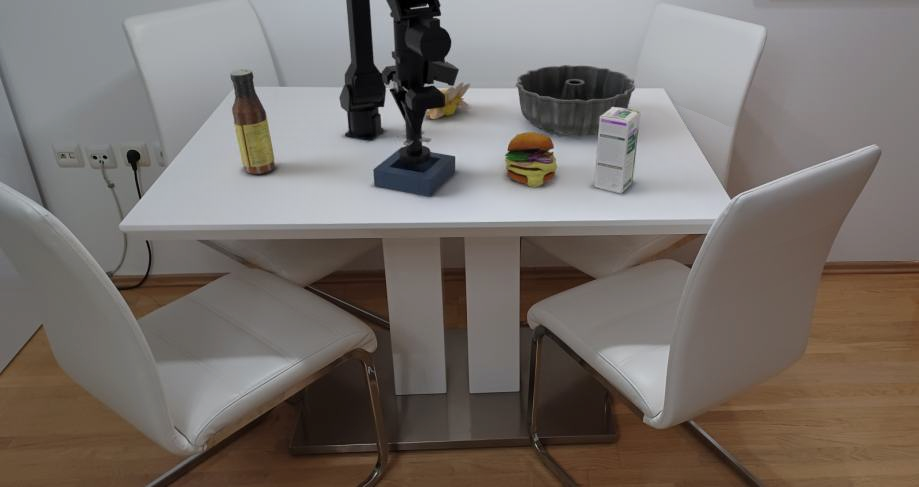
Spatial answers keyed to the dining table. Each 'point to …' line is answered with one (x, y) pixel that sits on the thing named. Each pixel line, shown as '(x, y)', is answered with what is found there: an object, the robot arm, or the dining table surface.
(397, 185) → the blue square frame
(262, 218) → the dining table surface
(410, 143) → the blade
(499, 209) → the dining table surface
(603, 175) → the syrup box
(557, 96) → the bundt pan
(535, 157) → the cheeseburger
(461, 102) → the decorative flower
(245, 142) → the sauce bottle
